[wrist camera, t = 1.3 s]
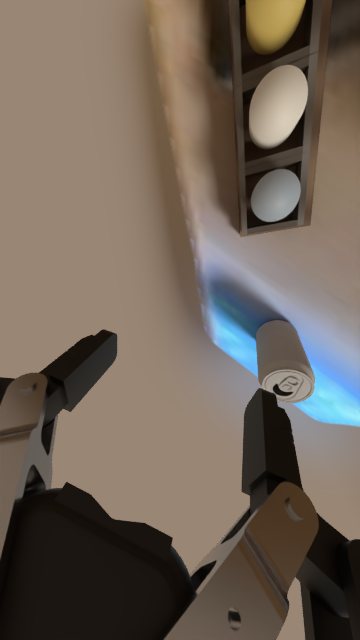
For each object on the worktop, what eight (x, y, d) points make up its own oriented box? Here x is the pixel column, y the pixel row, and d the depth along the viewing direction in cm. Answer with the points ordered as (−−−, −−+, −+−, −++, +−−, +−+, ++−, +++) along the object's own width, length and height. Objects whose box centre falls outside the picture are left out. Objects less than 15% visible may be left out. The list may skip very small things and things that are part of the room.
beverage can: (248, 338, 35) (248, 390, 26) (269, 311, 32) (279, 359, 22) (280, 354, 35) (293, 413, 25) (305, 328, 32) (332, 385, 22)
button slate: (278, 162, 19) (283, 156, 17) (302, 197, 20) (310, 197, 18) (243, 198, 22) (242, 197, 19) (265, 228, 23) (267, 231, 20)
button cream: (281, 71, 17) (287, 46, 14) (308, 116, 17) (319, 100, 15) (240, 122, 19) (238, 109, 16) (265, 160, 20) (268, 153, 17)
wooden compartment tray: (229, 12, 19) (224, -39, 15) (330, -44, 16) (357, -126, 12) (240, 235, 28) (239, 240, 24) (306, 223, 25) (317, 227, 21)
